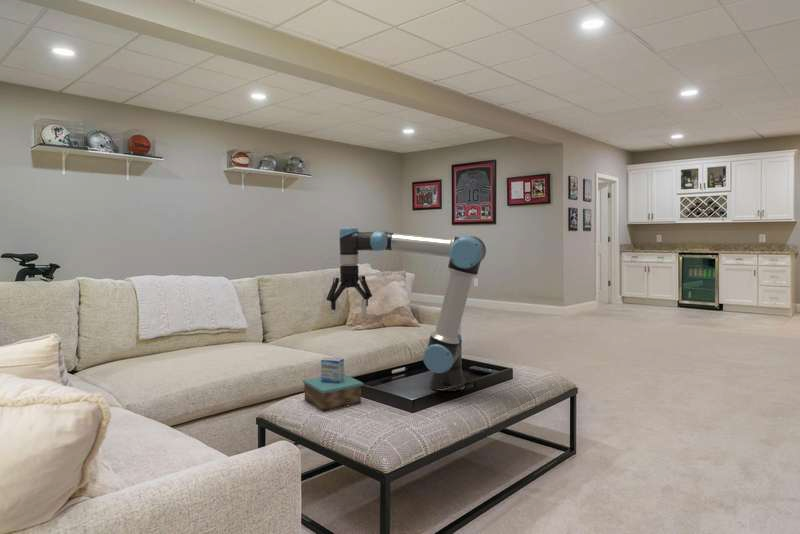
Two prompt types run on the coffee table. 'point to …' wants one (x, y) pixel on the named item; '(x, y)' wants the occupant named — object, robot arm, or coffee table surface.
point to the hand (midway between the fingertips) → (350, 316)
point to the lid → (332, 384)
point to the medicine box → (332, 370)
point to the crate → (332, 398)
